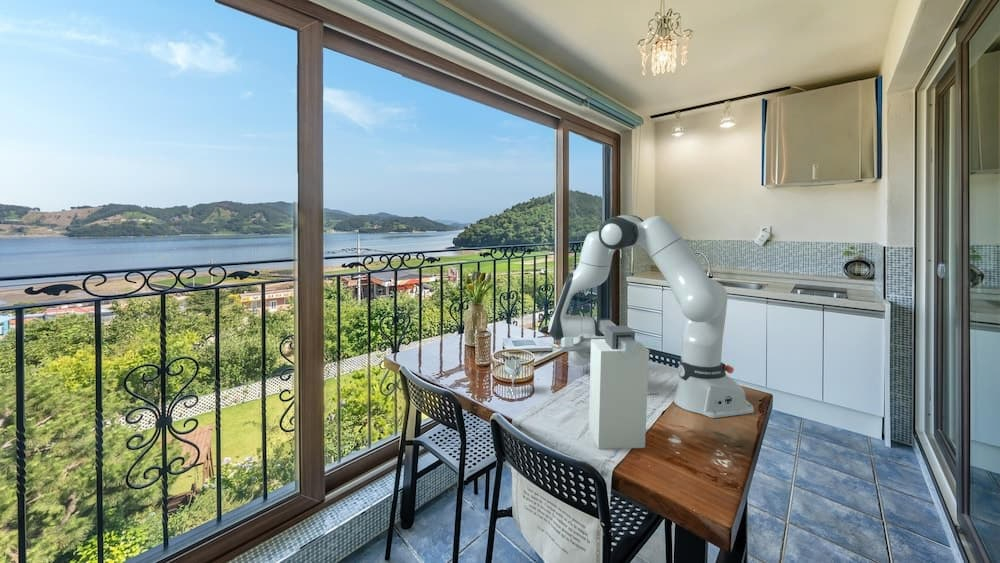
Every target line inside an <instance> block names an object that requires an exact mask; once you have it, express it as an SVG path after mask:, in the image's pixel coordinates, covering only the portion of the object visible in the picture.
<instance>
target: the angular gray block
mask: <svg viewBox="0 0 1000 563" xmlns="http://www.w3.org/2000/svg"><path fill="white" fill-rule="evenodd" d="M597 323H598V330H600V333H601V334H603V336H605V333H606V326H617V325H616V324H615V323H614V322H613V321H612V320H611V319H610V318H598V319H597ZM616 347H617V348H618V349H619V350H620V351H621V352H622V353H623V354H624V355H625V356H638V343H637V342H636V341H635V340H633V339H632V338H631V337H630V336H629V335H617V336H616Z"/></svg>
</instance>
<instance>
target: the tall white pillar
mask: <svg viewBox="0 0 1000 563" xmlns="http://www.w3.org/2000/svg"><path fill="white" fill-rule="evenodd" d="M617 335H629V336H630V337H631V338H632V339H633V340H635V341H636V342H637V343H638V356H625V355H624V354H623V353H622V352H621V351H620V350H619V349H618V348H617V347H616V336H617ZM604 336H605V339H591V357H590V362H589V366H590V367H589V404H588V406H589V407H588V408H589V409H588V411H589V412H588V430H589V432H590V435H591V436H592V439H593V441H594V443H595V444H596V447H597V449H598V450H606V449H607V450H609V449H610V448H616V449H644V448H646V431H647V414H648V413H647V410H648V409H647V407H648V389H649V388H648V387H649V386H648V385H649V368H650V367H649V363H650V349H648V348H647V347H646V346H645V345H643V344H642V343H641V342H640V341H638V339H636V338H635V337H636V331H634V330H633V329H632V328H631V327H629V326H628V325H616V326H606V333H605V335H604Z"/></svg>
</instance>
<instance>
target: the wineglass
mask: <svg viewBox="0 0 1000 563" xmlns="http://www.w3.org/2000/svg"><path fill="white" fill-rule="evenodd" d="M504 359H505V360H504V366H503V367H504V368H503V370H504V373H505V375H507V376H508V377H511V379H510V380H511V388H509V389H507V390H505V391H506V394H508V395H517V394H519V393H520V390H519V389H517V388H514V382H515V377H517V376H519V375H520V373H522V372H521V371H522V363H521V359H520V357H519V356H516V355H509V356H506V358H504Z"/></svg>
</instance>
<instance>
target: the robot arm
mask: <svg viewBox="0 0 1000 563" xmlns="http://www.w3.org/2000/svg"><path fill="white" fill-rule="evenodd" d="M638 245H639V246H641V247H642V248H643V250H645V251H646V252H647V254H648V255H649V257H650V258H651V260H652V262H653V263H654V265H656V267H657V269H658V270H659V271H660V273H661V274H662V276H663V277H664V279H665V280H666V282H667V284H668V287H669V288H670V290H671V292H672V293H673V295H674V297H675V300H676V301H677V303H678V304H679V307H680V310H681V313H682V314H683V315H684V316H685V321H684V326H683V327H684V328H683V331H682V342H681V356H680V358H679V364H678V376H679V378H678V383H677V386H676V390H675V393H674V395H673V400H672V401H673V402H674V404H675V405H676V406H678V407H680V408H681V409H683V410H685V411H688V412H691V413H692V412H693V413H695V414H696V413H697V414H700V415H704V416H706V417H707V418H712V419H717V418H725V417H734V416H739V415H741V416H742V415H749V414H754V413H755V409H754V406H753V405H752V404H751V403H750V402H749V401H748V400H747V399H746V393H745V390H744V389H743V387H742V386H741V385H740V384H739V383H737V382H736V381H735V380H734V379H733V378H732V377H730V376H729V375H727V373H728V374H733V373H734V372H735V369H734V367H733V366H731V365H729V364H725V363H724V362H722V353H723V352H722V351H723V340H724V333H725V332H724V331H725V324H726V318H727V317H726V315H727V309H728V308H727V306H728V292H727V290H726V288H725V287H724V285H723V284H722V283H720V282H718V281H716V280H714V279H710V277H709V276H708V274H707V272H706V270H705V269H704V267H703V266H702V264H701V262H700V260H699V258H698V256H697V255H696V253H695V252H694V251H693V249H692V248H691V247H690V245H689V244H688V243H687V241H686V240H685V239H684V238H683V236H682V234H680V232H679V231H678V230H677V229H676V228H675V227H674V226H673V225H672V224H671V222H669V220H667V219H666V218H665V217H663V216H661V215H653V216H650V217H648V218H646V219H643V218H641V217H639V216H637V215H632V214H631V215H625V214H624V215H623V214H621V215H617V216H612V217H610V218H607V219H605V221H603V222H602V224H601V225H600V227H599V229H598V230H596V231H591V232H589V233H588V234H587V235H586V237H585V239H584V241H583V244H582V247H581V250H580V256H579V260H578V265H577V266H576V268H575V269H574V270H573V272H571V273H569V274H568V275H567V277H566V278H565V280H564V283H563V285H562V287H561V291H560V293H559V297H558V299H557V302H556V305H555V308H554V310H553V313H552V315H551V317H550V319H549V322H548V326H547V327H548V328H547V329H548V334H549V336H550V337H551V338H552V339H554V340H555V341H560V344H559V345H557V348H558V349H560V350H561V351H562V352H566V353H567V352H568V358H569V360H570V361H571V363H573V364H574V365H576V366H580V367H582V366H584V365H585V366H586V365H588V364H590V357H591V339H605V335H603V336H602V335H600V334H601V331H600V330H598V321H597V320H596V319H595V317H592V316H586V315H585V316H584V315H583V316H582V315H574V314H573V315H572V314H567V310H568V308H569V306H570V303H571V300H572V298H573V296H574V295H575V294H576V293H578V292H580V291H584V290H588V289H592V288H596V287H598V286H600V285H602V284H603V283H604V282H606V281H607V279H608V278H609V275H610V271H611V266H612V260H613V255H614V253H615V251H618V250H625V249H631V248H633V247H634V246H638ZM726 372H727V373H726Z"/></svg>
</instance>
